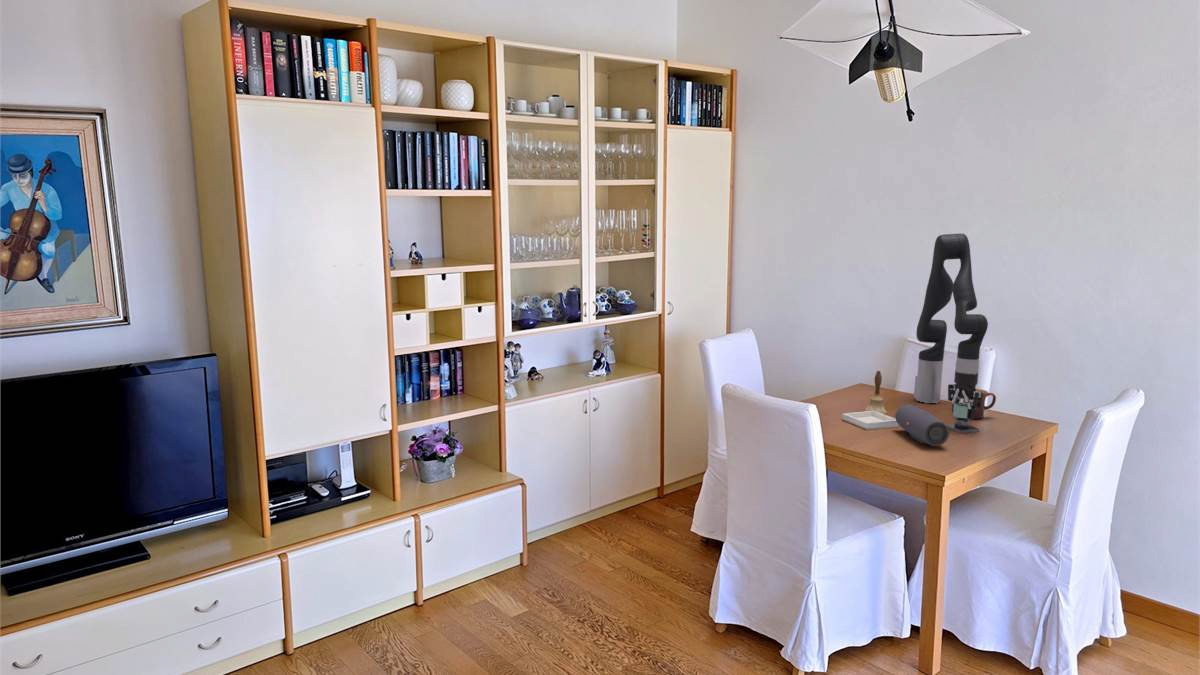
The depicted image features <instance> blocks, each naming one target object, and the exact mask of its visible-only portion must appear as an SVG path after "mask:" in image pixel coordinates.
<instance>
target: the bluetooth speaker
mask: <svg viewBox="0 0 1200 675" xmlns="http://www.w3.org/2000/svg"><path fill="white" fill-rule="evenodd" d="M894 418H895V419H896V421H897V423H898V424H899V427H901V428H902V429H903V430H904V431H906V432H907V433H908V434H909V436H910V437H911V438H912V439H914V440H916V441H917V442H918V443H921V444H923V445H929V446H933V447H936V446H937V447H938V446H939V447H940V446H942V445H943V444H944V443H946V442H947V441H948V438H949V437H950V429H948V428H947V426H946V425H947V424H946V423H944V422H943V420H940V419H939V418H938V417H936V416H934V415H933V414H931V413H929V412H928V411H926V410H923V409H922V408H919V407H918V406H915V405H913V404H902V405H901V406H899V408H898V409H897V410H896V412H895V416H894Z"/></svg>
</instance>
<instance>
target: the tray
mask: <svg viewBox="0 0 1200 675" xmlns="http://www.w3.org/2000/svg"><path fill="white" fill-rule="evenodd" d="M841 416H842V417H841V418H842V419H841V420H842V421H843V422H846V423H849V424H850V425H853V426H856V427H858V428H861V429H864V430H866V431H870V430H881V429H890V428H896V427H897V428H899V427H900V425H899V424H898V423H897V421H896V419H895V417H892V416H890V415H887V414H881V413H879V412H876V411H865V410H864V411H857V412H856V411H855V412H845V413H842V415H841Z"/></svg>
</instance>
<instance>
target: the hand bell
mask: <svg viewBox="0 0 1200 675" xmlns="http://www.w3.org/2000/svg"><path fill="white" fill-rule="evenodd" d="M882 378H883V377H882V374H881V371H880V370H877V371H876V373H875V376H874V386H875V390H874V396H872V397H870V400H869V403H868V405H867V407H866V408H865V409H864V412H865V411H876V412H879V413H881V414H884V415H887V414H888V410H886V408H885V404H884V399H883V398H882V397H881V395H880V394H881V393H880V392H881V391H880V390H881V384H882V380H883V379H882Z"/></svg>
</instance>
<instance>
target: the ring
mask: <svg viewBox="0 0 1200 675" xmlns="http://www.w3.org/2000/svg"><path fill="white" fill-rule="evenodd" d="M971 406H972V404H971ZM968 409H969V408H968V405H967V403H963V402H961V401H960V402H959V403H954V408H953V414H952V416H953V417H954V418H955V417H958V418H967V414H968Z"/></svg>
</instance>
